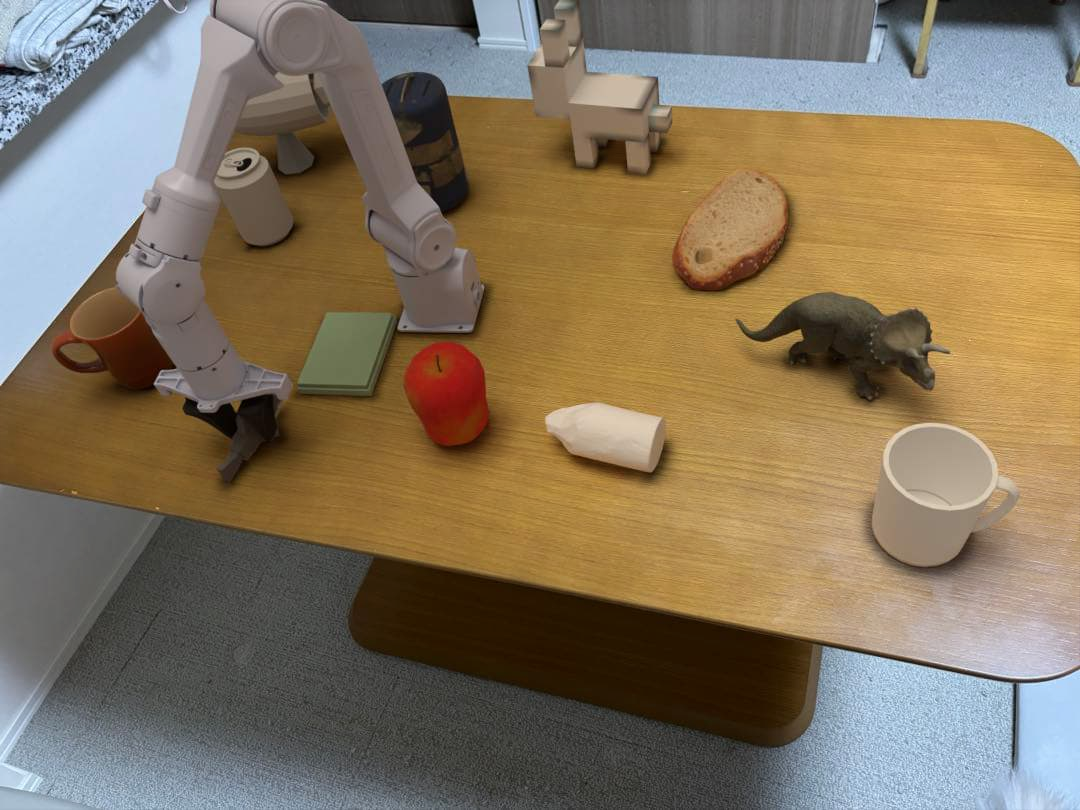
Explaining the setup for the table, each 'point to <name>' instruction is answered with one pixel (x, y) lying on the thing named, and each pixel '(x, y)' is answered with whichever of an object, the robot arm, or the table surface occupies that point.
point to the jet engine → (287, 118)
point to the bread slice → (732, 231)
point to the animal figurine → (244, 444)
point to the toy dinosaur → (856, 337)
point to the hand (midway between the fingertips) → (253, 432)
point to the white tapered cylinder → (609, 434)
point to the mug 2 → (935, 493)
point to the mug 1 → (114, 341)
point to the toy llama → (594, 95)
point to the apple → (448, 392)
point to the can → (253, 197)
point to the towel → (347, 354)
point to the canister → (428, 135)
